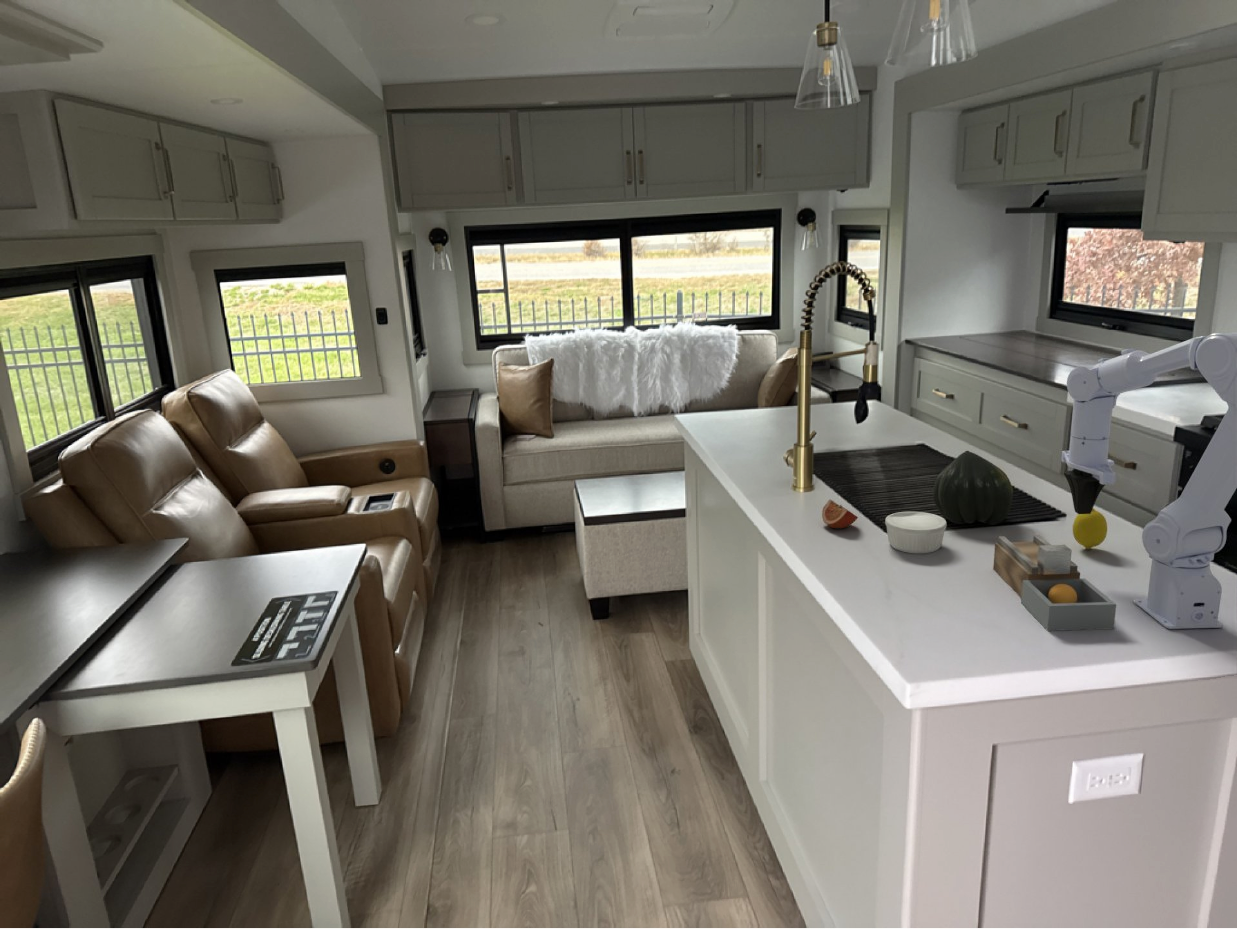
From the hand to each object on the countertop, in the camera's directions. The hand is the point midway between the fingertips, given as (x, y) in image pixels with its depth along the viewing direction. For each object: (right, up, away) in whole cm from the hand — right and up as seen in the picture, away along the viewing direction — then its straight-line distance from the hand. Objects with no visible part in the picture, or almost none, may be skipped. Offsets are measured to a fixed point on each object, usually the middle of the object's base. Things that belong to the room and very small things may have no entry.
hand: (1082, 512), depth 142 cm
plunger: (-10, -9, -10) cm, 17 cm away
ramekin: (-22, -8, +18) cm, 30 cm away
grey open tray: (-10, -15, -14) cm, 23 cm away
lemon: (+7, -8, +11) cm, 15 cm away
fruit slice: (-34, -5, +30) cm, 46 cm away
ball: (-10, -12, -13) cm, 21 cm away
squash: (-7, -3, +29) cm, 30 cm away
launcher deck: (-10, -12, -2) cm, 16 cm away
